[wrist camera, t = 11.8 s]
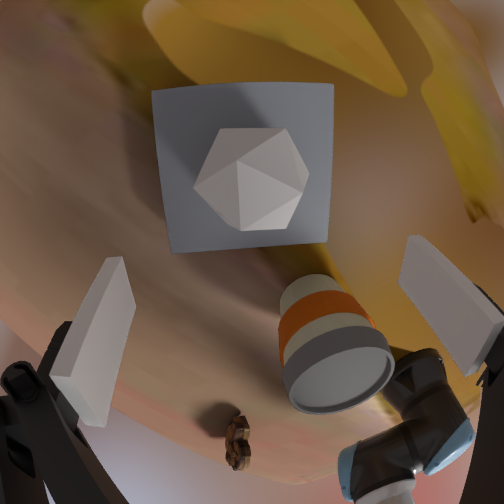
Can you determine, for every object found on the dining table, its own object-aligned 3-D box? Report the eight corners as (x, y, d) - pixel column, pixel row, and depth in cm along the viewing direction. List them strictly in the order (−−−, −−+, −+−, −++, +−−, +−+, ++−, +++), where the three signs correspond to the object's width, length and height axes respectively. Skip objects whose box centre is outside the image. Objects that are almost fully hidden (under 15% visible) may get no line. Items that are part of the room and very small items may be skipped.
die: (200, 118, 25) (160, 206, 21) (291, 90, 21) (271, 184, 17) (244, 176, 31) (221, 260, 27) (326, 162, 27) (317, 255, 23)
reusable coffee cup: (257, 330, 45) (273, 417, 32) (278, 256, 39) (308, 344, 26) (335, 334, 47) (366, 411, 34) (365, 267, 41) (416, 343, 28)
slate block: (314, 84, 29) (334, 84, 24) (311, 219, 37) (326, 242, 32) (162, 91, 28) (151, 91, 23) (177, 228, 36) (171, 253, 31)
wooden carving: (224, 408, 54) (228, 452, 46) (248, 407, 55) (254, 451, 46) (222, 442, 62) (225, 478, 54) (242, 441, 63) (246, 478, 54)
